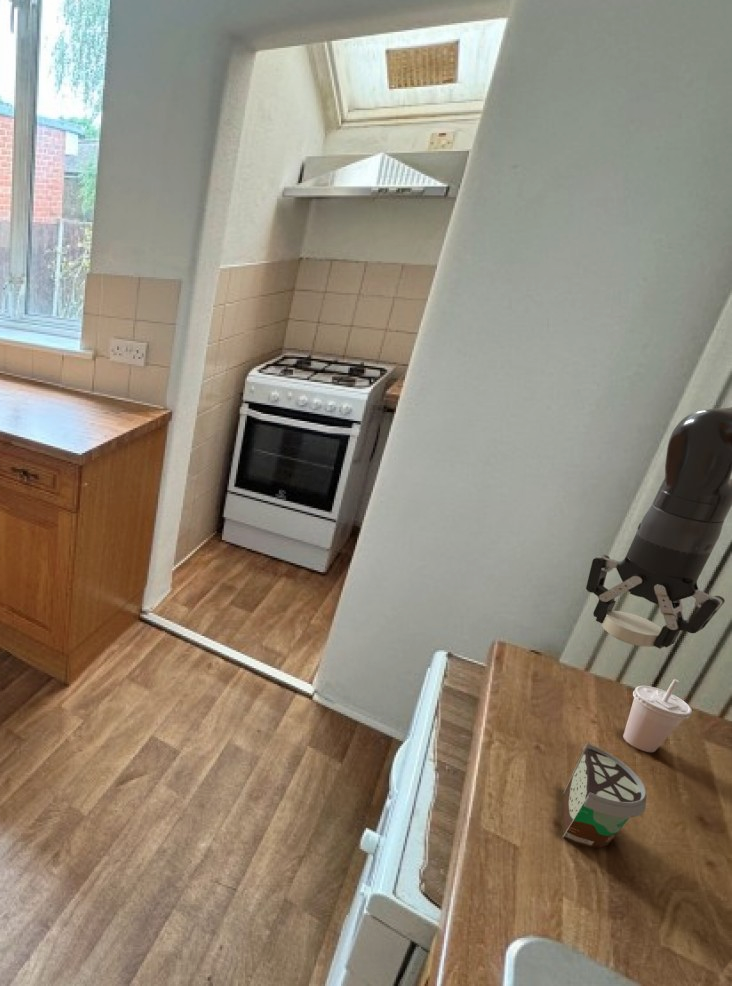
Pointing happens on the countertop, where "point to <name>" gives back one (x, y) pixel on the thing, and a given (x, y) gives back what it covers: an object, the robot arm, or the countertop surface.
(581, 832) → the food container
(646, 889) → the countertop surface
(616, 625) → the cream round lid
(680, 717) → the smoothie
